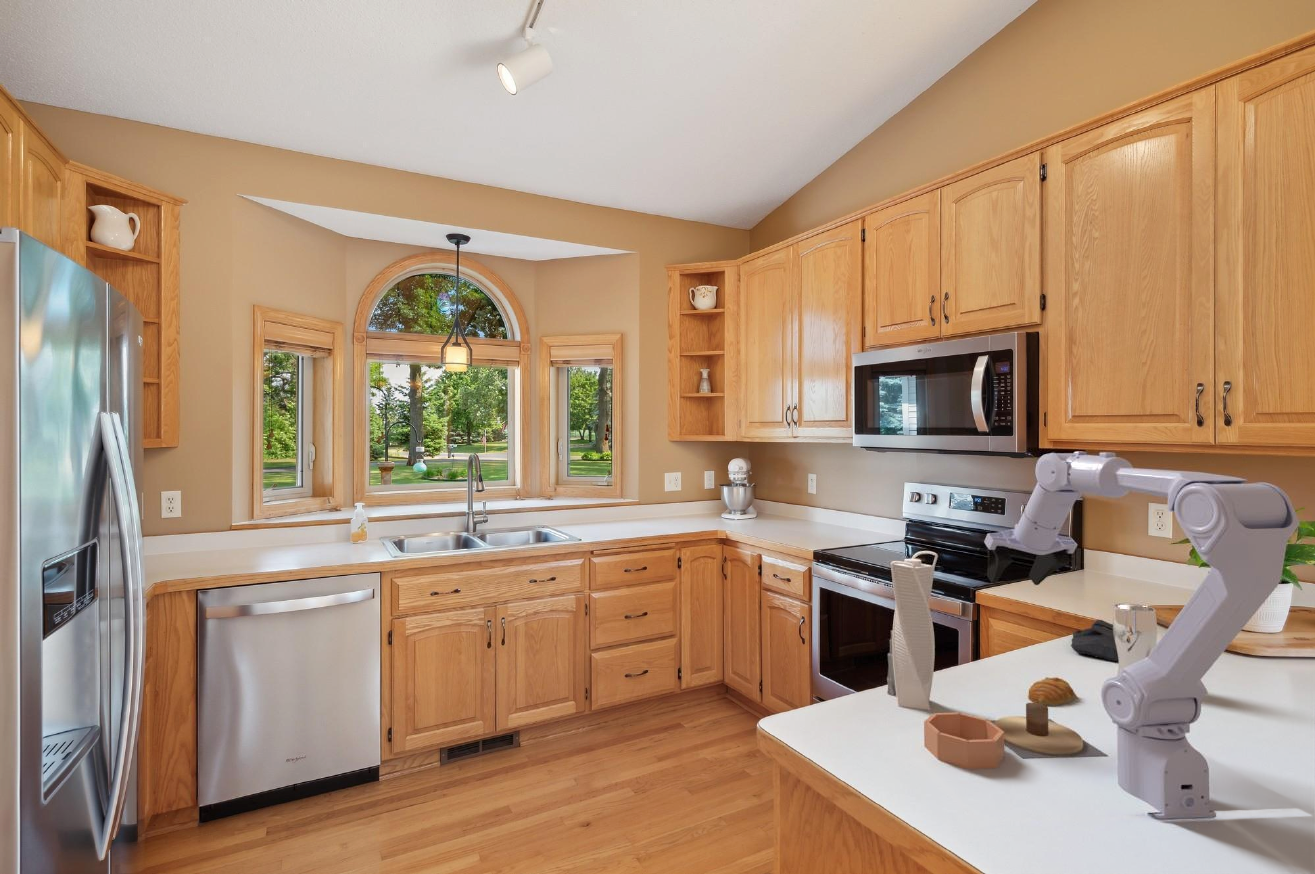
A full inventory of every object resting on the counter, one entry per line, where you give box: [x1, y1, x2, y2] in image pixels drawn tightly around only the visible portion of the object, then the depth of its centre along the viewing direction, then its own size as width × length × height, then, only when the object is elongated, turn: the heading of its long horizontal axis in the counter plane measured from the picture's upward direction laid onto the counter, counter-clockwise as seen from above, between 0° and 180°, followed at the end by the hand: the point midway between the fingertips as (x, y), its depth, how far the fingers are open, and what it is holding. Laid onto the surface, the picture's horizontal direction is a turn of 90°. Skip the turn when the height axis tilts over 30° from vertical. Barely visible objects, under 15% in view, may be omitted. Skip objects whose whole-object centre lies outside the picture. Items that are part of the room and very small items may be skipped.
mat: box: [988, 718, 1109, 760], centre depth 101 cm, size 13×13×1 cm
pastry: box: [1027, 676, 1078, 707], centre depth 118 cm, size 9×7×4 cm
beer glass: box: [1112, 602, 1158, 676], centre depth 126 cm, size 7×7×15 cm
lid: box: [994, 702, 1084, 755], centre depth 101 cm, size 12×12×5 cm
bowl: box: [923, 712, 1005, 770], centre depth 97 cm, size 10×10×4 cm
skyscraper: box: [886, 550, 939, 711], centre depth 116 cm, size 8×8×28 cm
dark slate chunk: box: [1070, 619, 1119, 663], centre depth 149 cm, size 15×22×5 cm
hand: (1012, 579), depth 112 cm, fingers open, 7 cm apart
